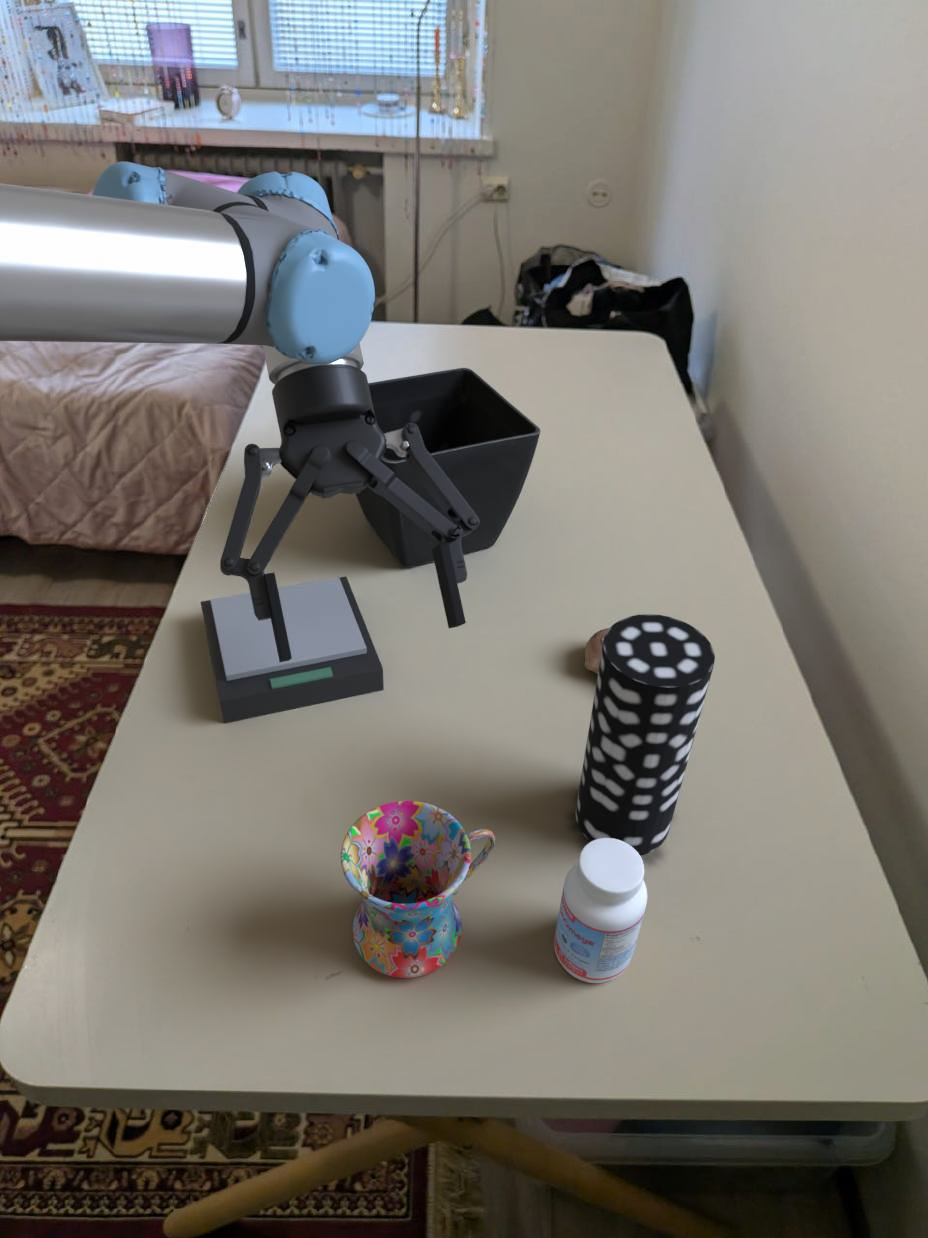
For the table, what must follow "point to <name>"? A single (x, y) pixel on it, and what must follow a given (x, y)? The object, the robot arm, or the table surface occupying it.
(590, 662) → the oil lamp
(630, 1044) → the table surface
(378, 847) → the mug
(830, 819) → the table surface
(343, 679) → the scale
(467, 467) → the flower pot
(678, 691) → the spotted tube
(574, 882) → the pill bottle
